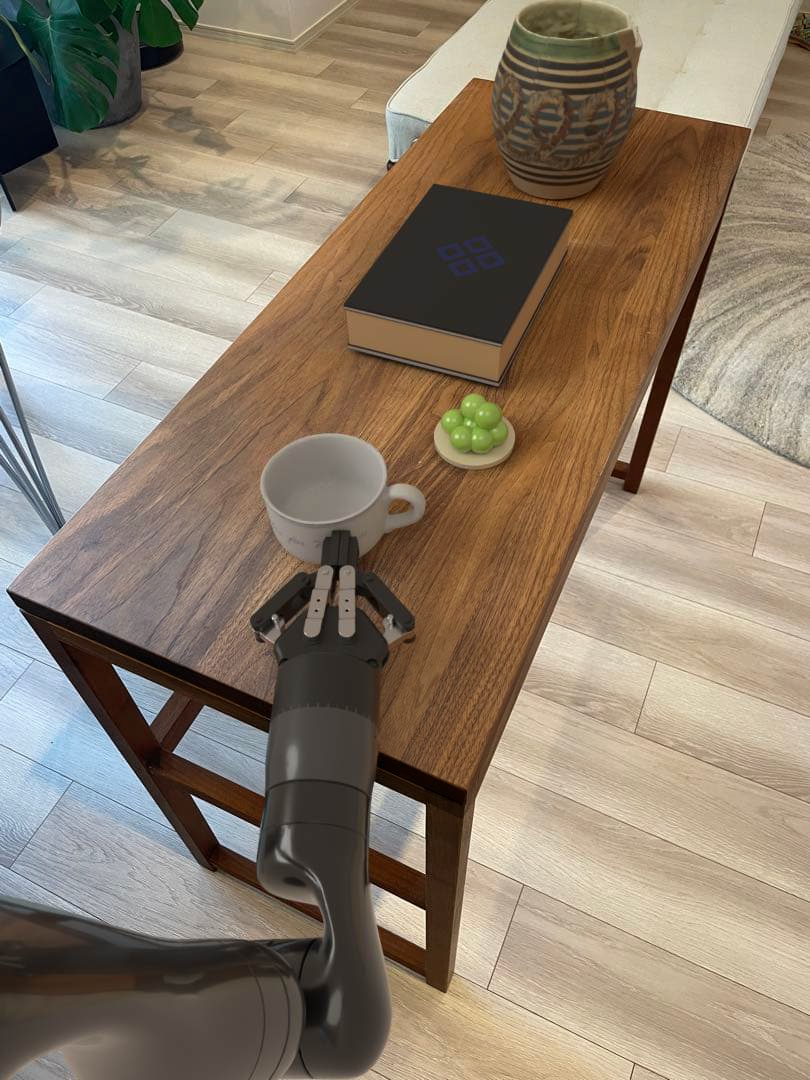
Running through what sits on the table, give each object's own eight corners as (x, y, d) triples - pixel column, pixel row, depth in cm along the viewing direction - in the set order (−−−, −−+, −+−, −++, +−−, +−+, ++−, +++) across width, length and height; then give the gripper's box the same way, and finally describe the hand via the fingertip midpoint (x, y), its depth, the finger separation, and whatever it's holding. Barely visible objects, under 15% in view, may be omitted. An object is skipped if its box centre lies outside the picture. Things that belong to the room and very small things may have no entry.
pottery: (466, 194, 110) (470, 29, 94) (520, 134, 119) (533, -26, 103) (592, 227, 104) (619, 57, 88) (640, 162, 113) (672, -4, 97)
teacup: (253, 559, 74) (235, 501, 68) (308, 475, 80) (297, 415, 74) (395, 608, 71) (391, 552, 64) (442, 516, 76) (442, 456, 70)
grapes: (446, 477, 79) (446, 437, 75) (424, 420, 84) (423, 380, 80) (525, 460, 80) (530, 420, 76) (500, 405, 85) (503, 364, 81)
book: (348, 354, 91) (342, 303, 86) (433, 232, 105) (433, 182, 99) (498, 393, 86) (501, 342, 81) (567, 260, 100) (574, 209, 95)
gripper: (418, 711, 54) (422, 506, 64) (217, 710, 54) (253, 506, 65) (421, 757, 60) (424, 562, 70) (239, 756, 60) (269, 563, 71)
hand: (342, 536), depth 68 cm, fingers closed
